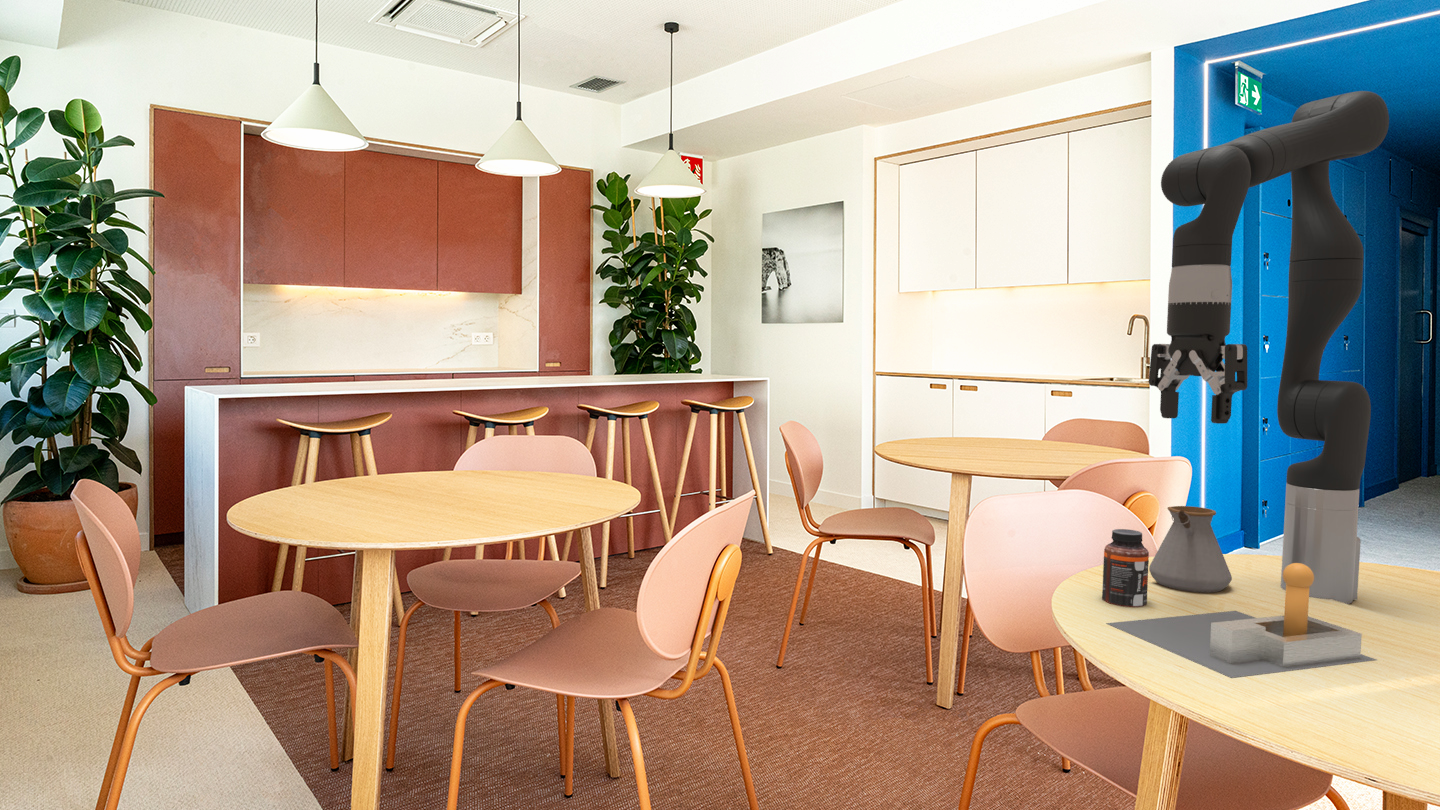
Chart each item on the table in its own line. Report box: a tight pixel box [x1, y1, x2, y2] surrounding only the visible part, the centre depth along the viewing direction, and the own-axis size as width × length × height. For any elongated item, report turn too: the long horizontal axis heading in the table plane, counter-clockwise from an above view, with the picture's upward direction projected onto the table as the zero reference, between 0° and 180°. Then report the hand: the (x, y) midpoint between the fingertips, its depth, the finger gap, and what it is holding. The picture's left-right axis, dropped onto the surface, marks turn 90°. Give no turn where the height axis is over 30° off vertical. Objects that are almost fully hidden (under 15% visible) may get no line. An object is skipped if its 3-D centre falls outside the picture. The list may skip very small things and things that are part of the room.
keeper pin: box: [1283, 563, 1314, 637], centre depth 107 cm, size 3×3×11 cm
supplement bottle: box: [1101, 528, 1150, 608], centre depth 128 cm, size 6×6×11 cm
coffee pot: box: [1148, 505, 1233, 594], centre depth 133 cm, size 21×12×15 cm, turn 146°
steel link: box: [1210, 615, 1363, 667], centre depth 107 cm, size 17×8×4 cm, turn 107°
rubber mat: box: [1105, 610, 1378, 679], centre depth 111 cm, size 22×20×1 cm
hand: (1193, 420), depth 120 cm, fingers open, 8 cm apart
